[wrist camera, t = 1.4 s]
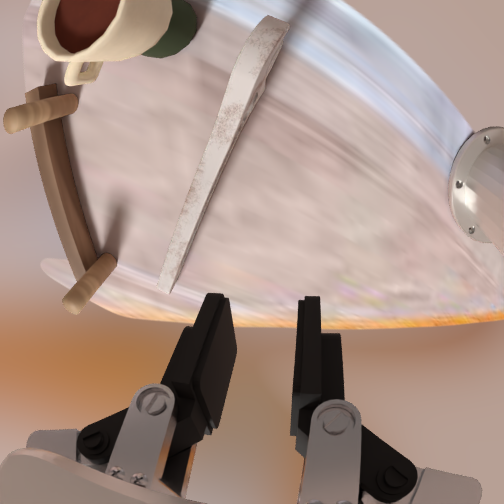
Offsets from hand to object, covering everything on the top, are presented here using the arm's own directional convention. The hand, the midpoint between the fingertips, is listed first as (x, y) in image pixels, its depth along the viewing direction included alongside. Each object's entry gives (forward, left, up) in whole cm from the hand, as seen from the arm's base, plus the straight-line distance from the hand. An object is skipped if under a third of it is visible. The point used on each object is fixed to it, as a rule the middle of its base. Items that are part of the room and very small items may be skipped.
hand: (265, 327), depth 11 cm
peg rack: (+24, 0, -19) cm, 31 cm away
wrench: (+7, 0, -20) cm, 21 cm away
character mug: (+10, -15, -19) cm, 26 cm away
